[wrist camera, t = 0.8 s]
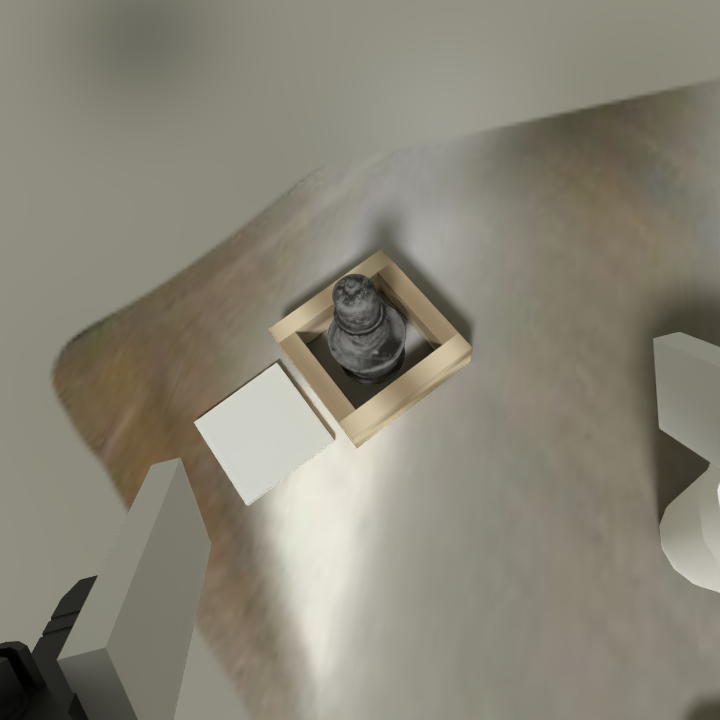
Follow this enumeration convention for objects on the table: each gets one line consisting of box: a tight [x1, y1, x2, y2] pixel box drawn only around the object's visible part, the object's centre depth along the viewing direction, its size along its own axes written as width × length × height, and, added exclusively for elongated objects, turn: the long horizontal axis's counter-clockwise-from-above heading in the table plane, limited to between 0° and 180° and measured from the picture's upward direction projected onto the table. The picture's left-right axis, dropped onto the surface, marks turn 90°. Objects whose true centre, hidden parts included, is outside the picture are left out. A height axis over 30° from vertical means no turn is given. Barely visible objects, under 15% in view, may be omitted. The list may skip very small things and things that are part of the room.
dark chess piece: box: [328, 274, 406, 384], centre depth 41 cm, size 6×6×12 cm
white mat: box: [194, 363, 335, 506], centre depth 45 cm, size 8×8×1 cm
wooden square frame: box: [269, 249, 472, 448], centre depth 46 cm, size 11×11×3 cm
